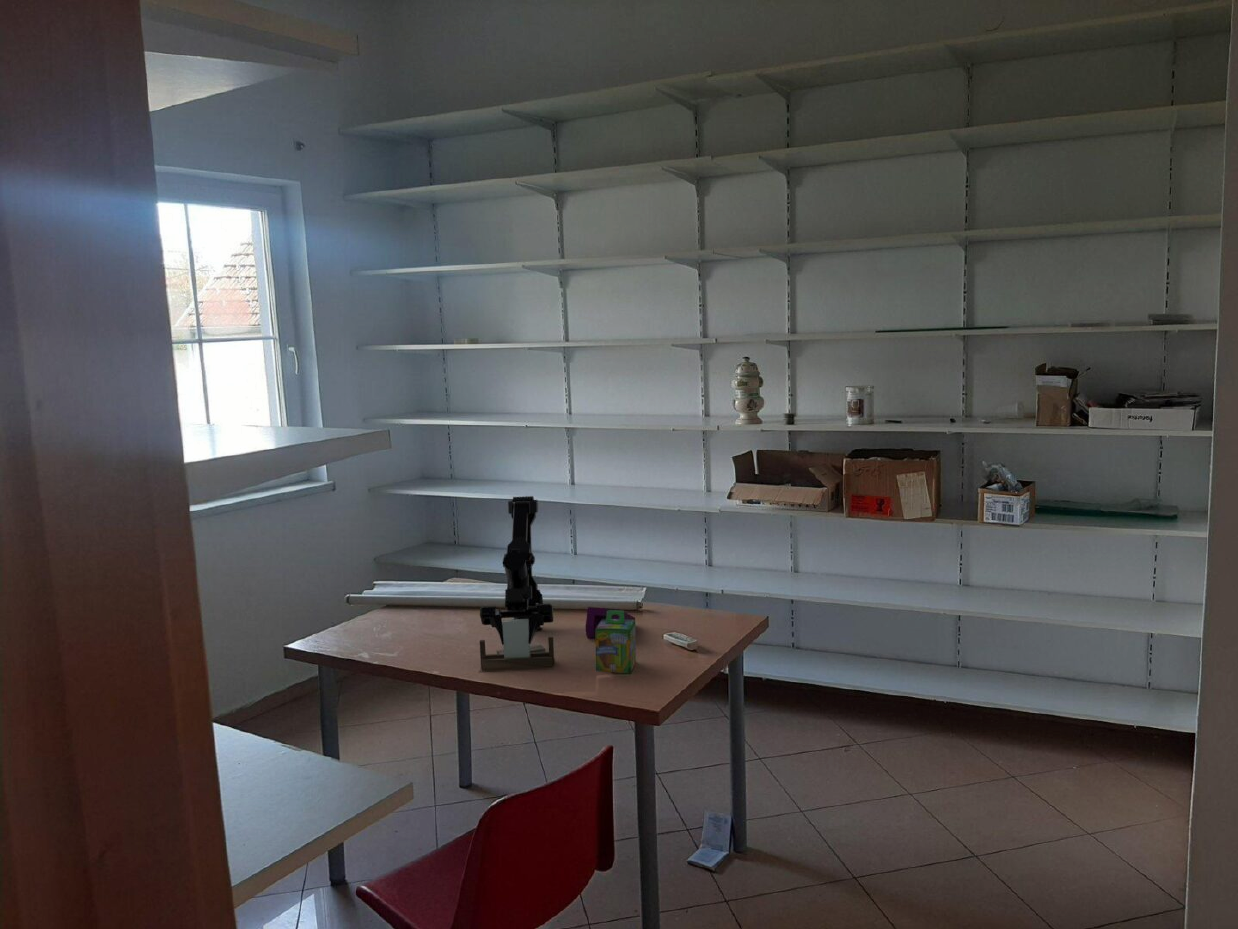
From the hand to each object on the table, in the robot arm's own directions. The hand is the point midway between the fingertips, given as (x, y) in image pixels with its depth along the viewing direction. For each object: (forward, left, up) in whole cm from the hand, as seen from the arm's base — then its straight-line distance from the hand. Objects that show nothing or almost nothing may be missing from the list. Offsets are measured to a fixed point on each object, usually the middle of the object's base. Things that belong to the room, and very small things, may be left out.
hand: (516, 643), depth 236 cm
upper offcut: (-5, -8, -6) cm, 11 cm away
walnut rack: (-1, -1, -7) cm, 7 cm away
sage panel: (-1, -1, -6) cm, 6 cm away
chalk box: (-22, +13, -7) cm, 27 cm away
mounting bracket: (-36, -12, -8) cm, 38 cm away
